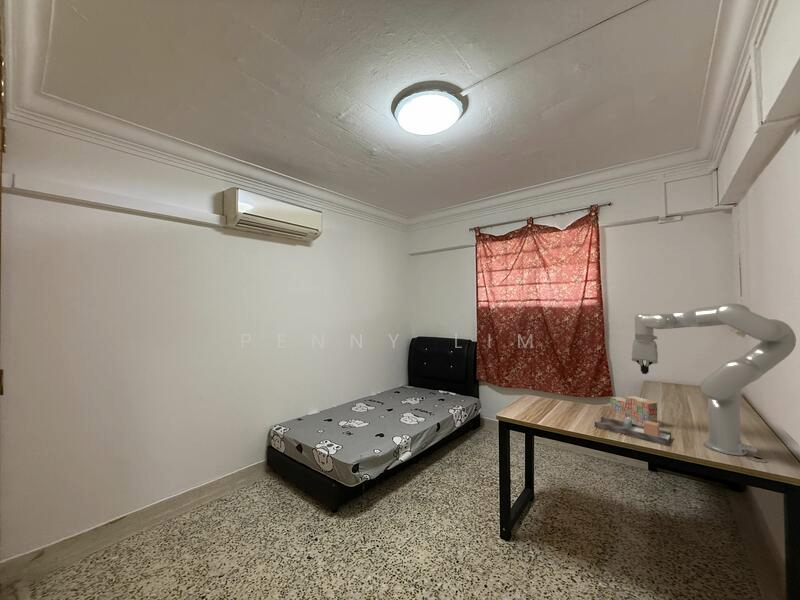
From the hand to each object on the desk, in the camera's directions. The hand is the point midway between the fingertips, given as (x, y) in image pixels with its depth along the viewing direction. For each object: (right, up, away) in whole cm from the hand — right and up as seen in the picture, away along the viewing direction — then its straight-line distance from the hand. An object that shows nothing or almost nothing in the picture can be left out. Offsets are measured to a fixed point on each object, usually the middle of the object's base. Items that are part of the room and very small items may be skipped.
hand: (644, 373), depth 158 cm
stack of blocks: (+2, -28, +10) cm, 30 cm away
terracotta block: (-8, -25, -14) cm, 30 cm away
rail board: (-13, -27, -9) cm, 31 cm away
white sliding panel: (-10, -26, -13) cm, 30 cm away
